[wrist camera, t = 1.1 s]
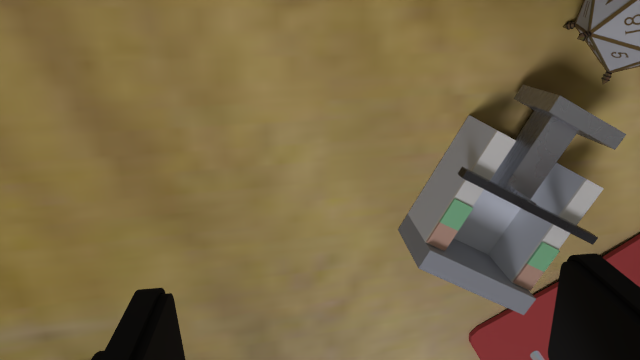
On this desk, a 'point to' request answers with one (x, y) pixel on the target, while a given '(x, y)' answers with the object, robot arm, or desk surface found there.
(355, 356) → the desk surface
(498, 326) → the desk lamp
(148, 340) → the robot arm
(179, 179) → the desk surface
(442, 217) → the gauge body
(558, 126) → the grey channel block
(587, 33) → the game die
